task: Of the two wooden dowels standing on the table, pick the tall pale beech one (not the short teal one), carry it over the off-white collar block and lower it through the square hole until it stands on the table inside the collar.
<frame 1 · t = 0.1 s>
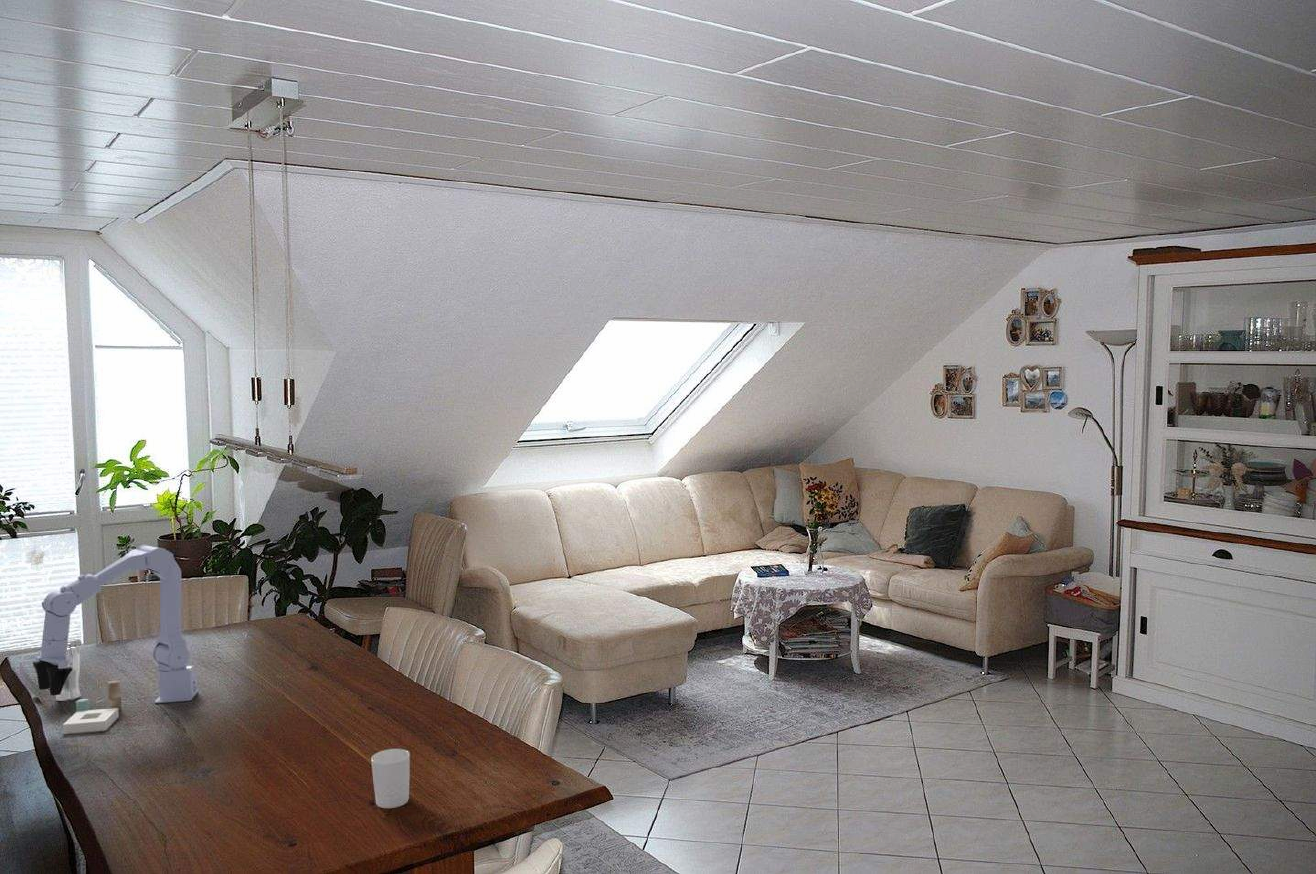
hand: (49, 692, 255), 11 cm above the table, tool pointing down, fingers open, 7 cm apart
beer glass: (68, 699, 282), on the table
white cup: (392, 802, 211), on the table
long beech pin: (115, 710, 271), on the table
collar block: (91, 725, 260), on the table
short teal pin: (83, 717, 267), on the table
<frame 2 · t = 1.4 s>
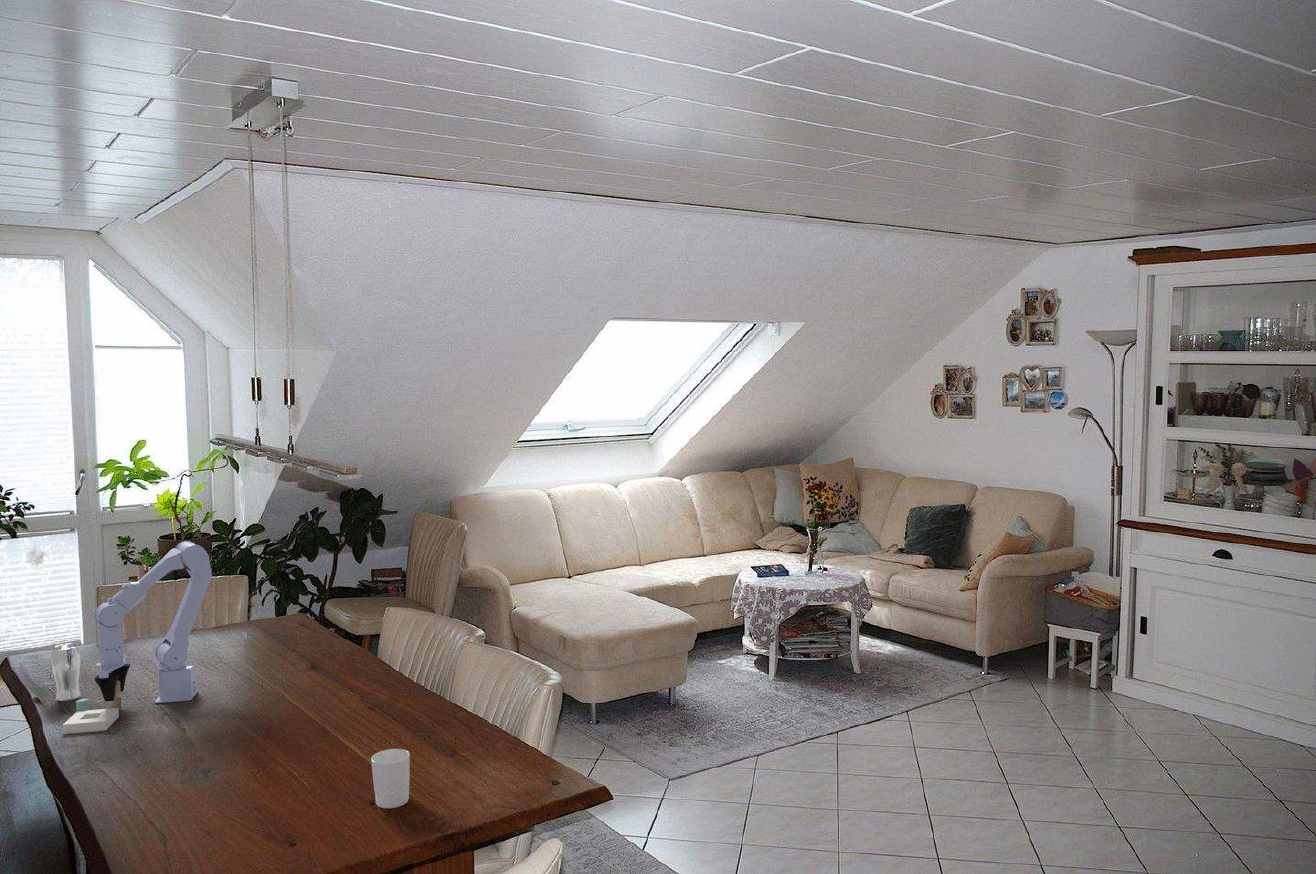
hand: (114, 696, 271), 4 cm above the table, tool pointing down, fingers open, 7 cm apart
nothing on the table moved.
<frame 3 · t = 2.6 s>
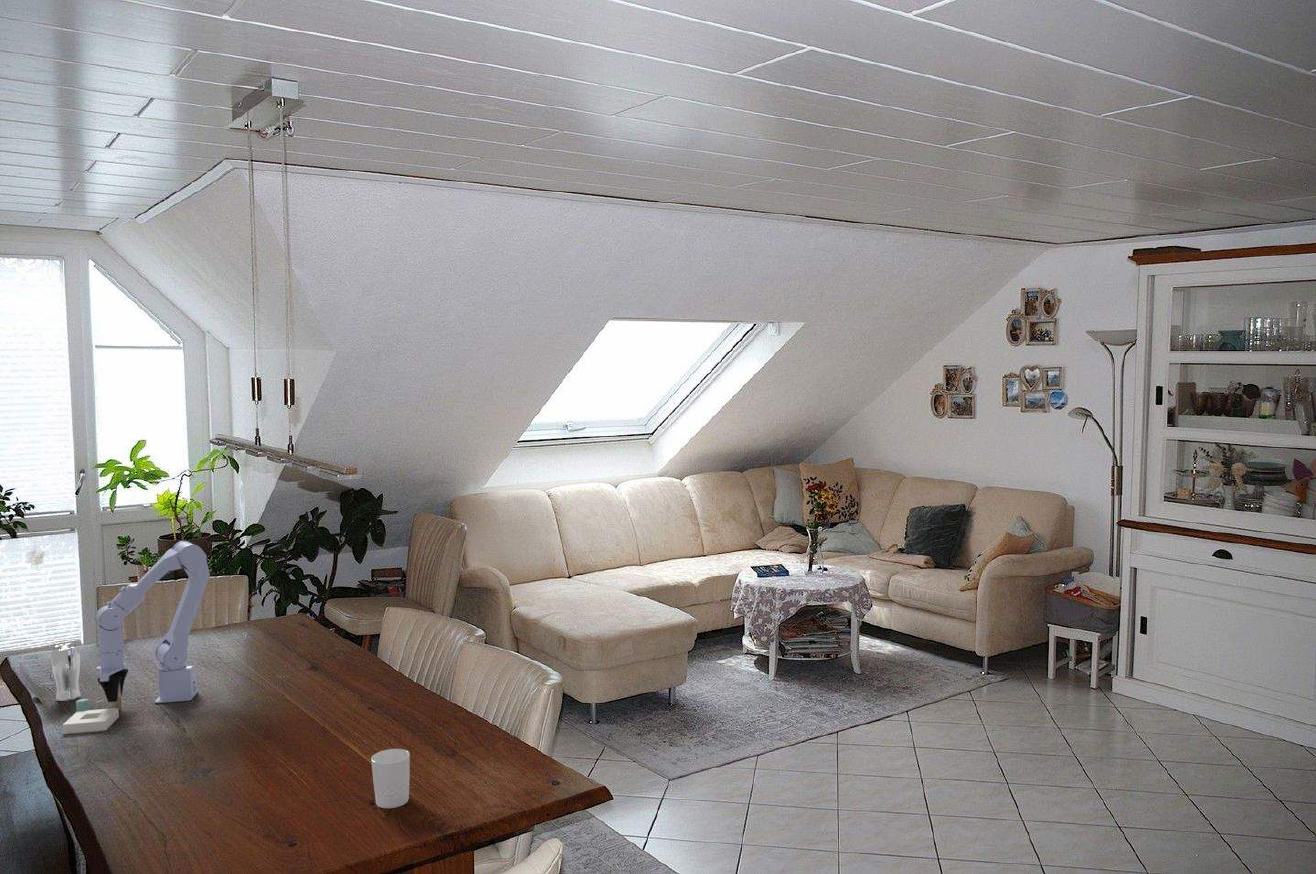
hand: (114, 699, 271), 3 cm above the table, tool pointing down, fingers closed on long beech pin, 3 cm apart
long beech pin: (115, 710, 271), on the table, touching gripper
everything else where it was.
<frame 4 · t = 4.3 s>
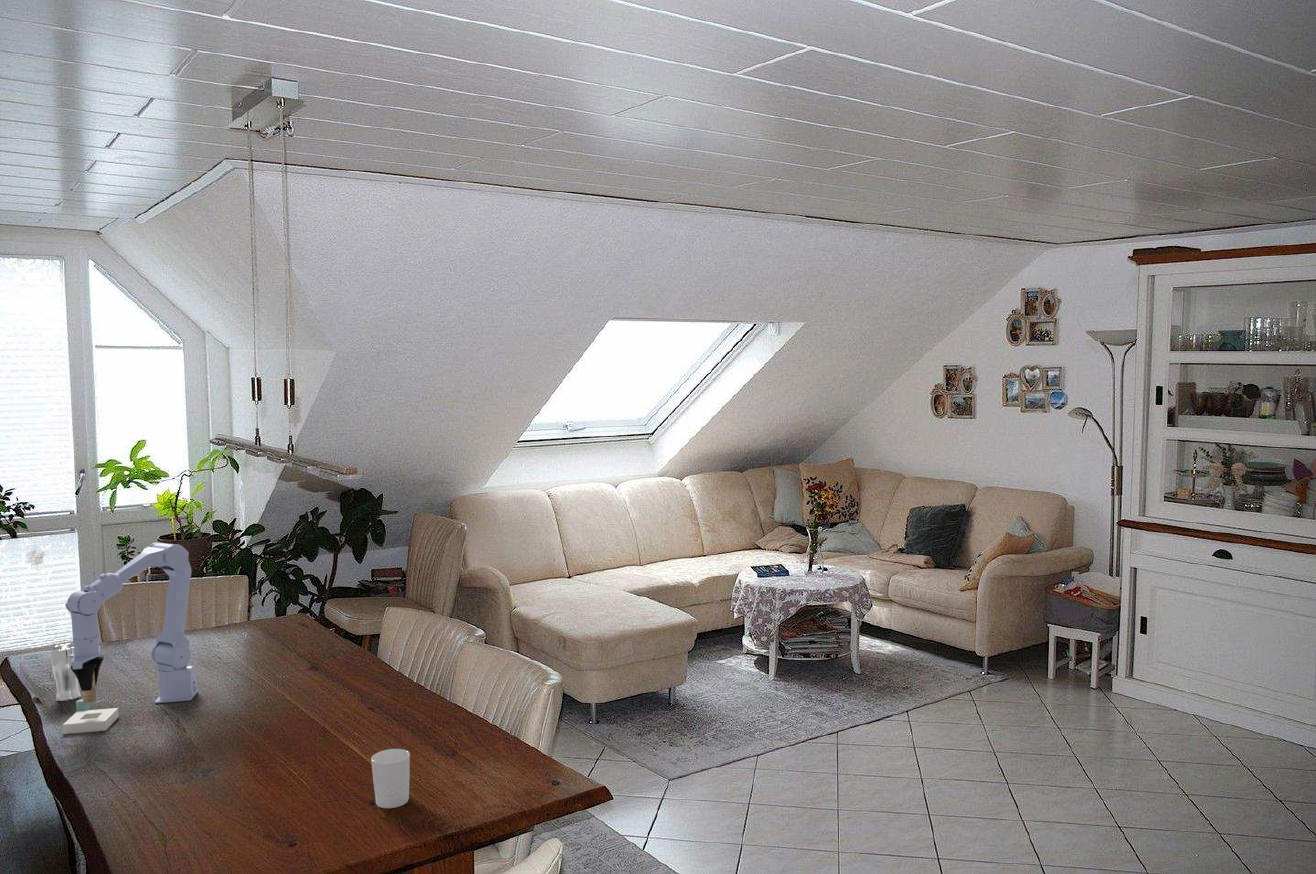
hand: (89, 688, 260), 10 cm above the table, tool pointing down, fingers closed on long beech pin, 3 cm apart
long beech pin: (89, 700, 260), point 7 cm above the table, touching gripper
everything else where it was.
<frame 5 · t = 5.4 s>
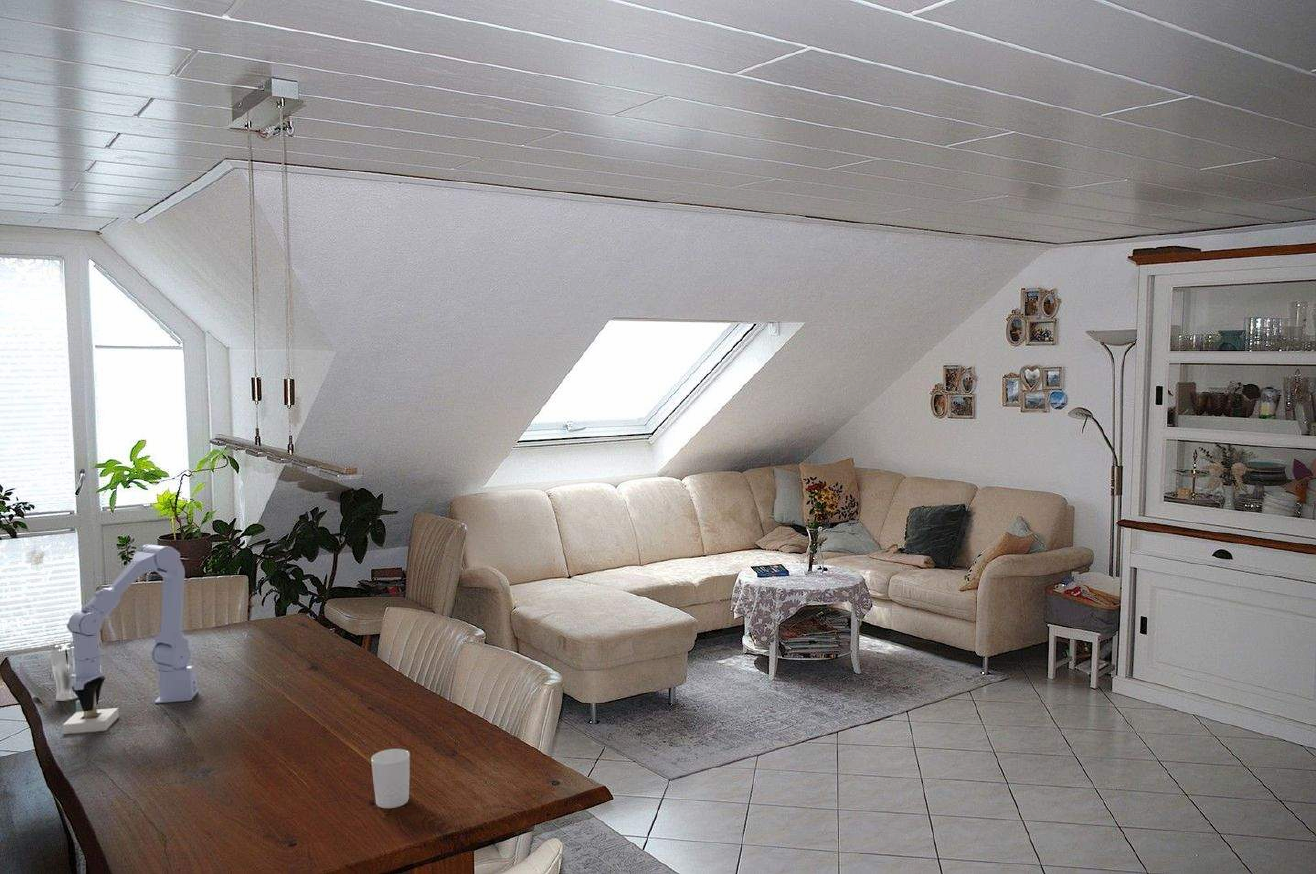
hand: (90, 708, 260), 5 cm above the table, tool pointing down, fingers closed on long beech pin, 3 cm apart
long beech pin: (90, 721, 260), point 1 cm above the table, touching gripper
everything else where it was.
when the fingers open (4 cm above the table, at t = 6.3 s): long beech pin stays where it is, resting in collar block.
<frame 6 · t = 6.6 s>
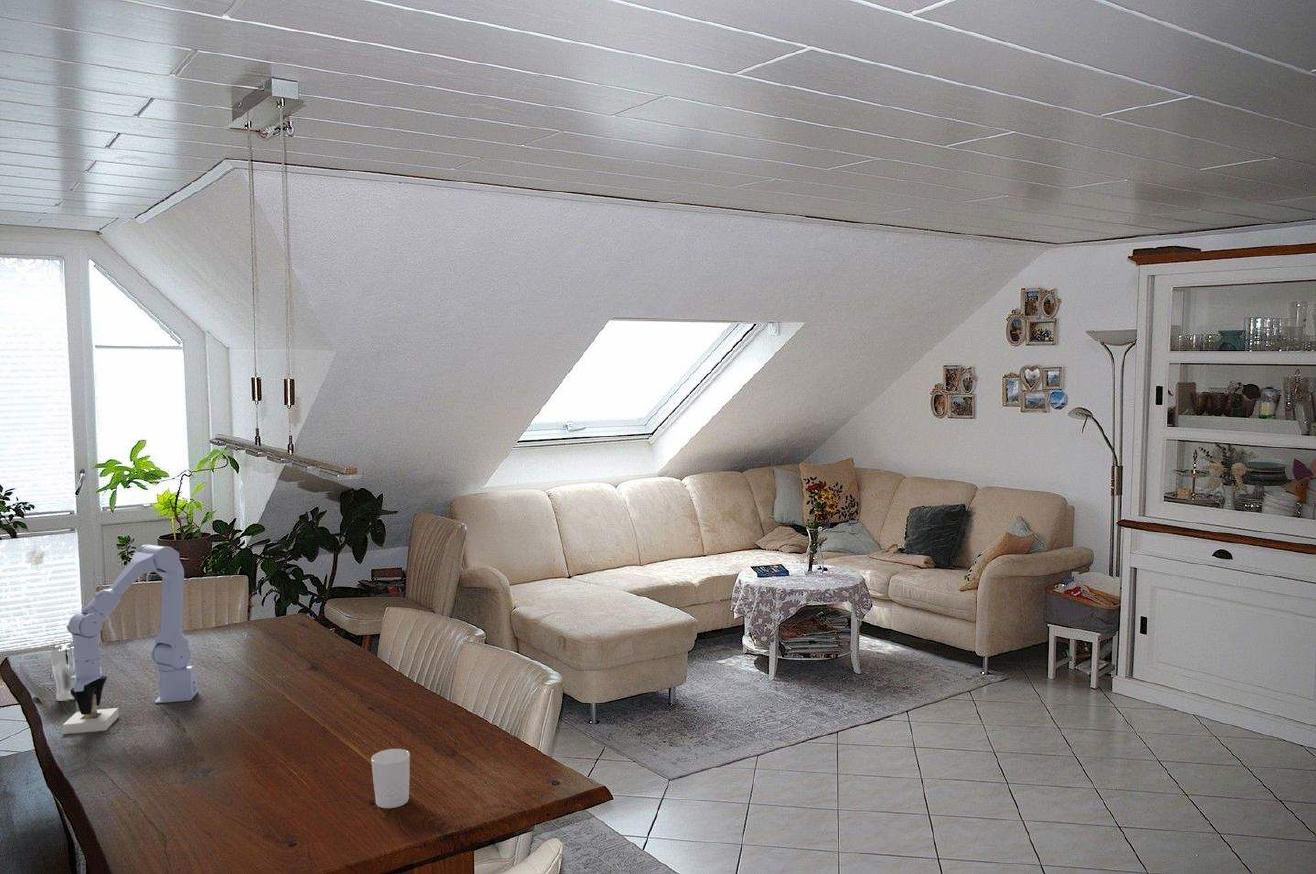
hand: (90, 709, 260), 4 cm above the table, tool pointing down, fingers open, 6 cm apart
long beech pin: (91, 725, 260), resting in collar block
everything else where it was.
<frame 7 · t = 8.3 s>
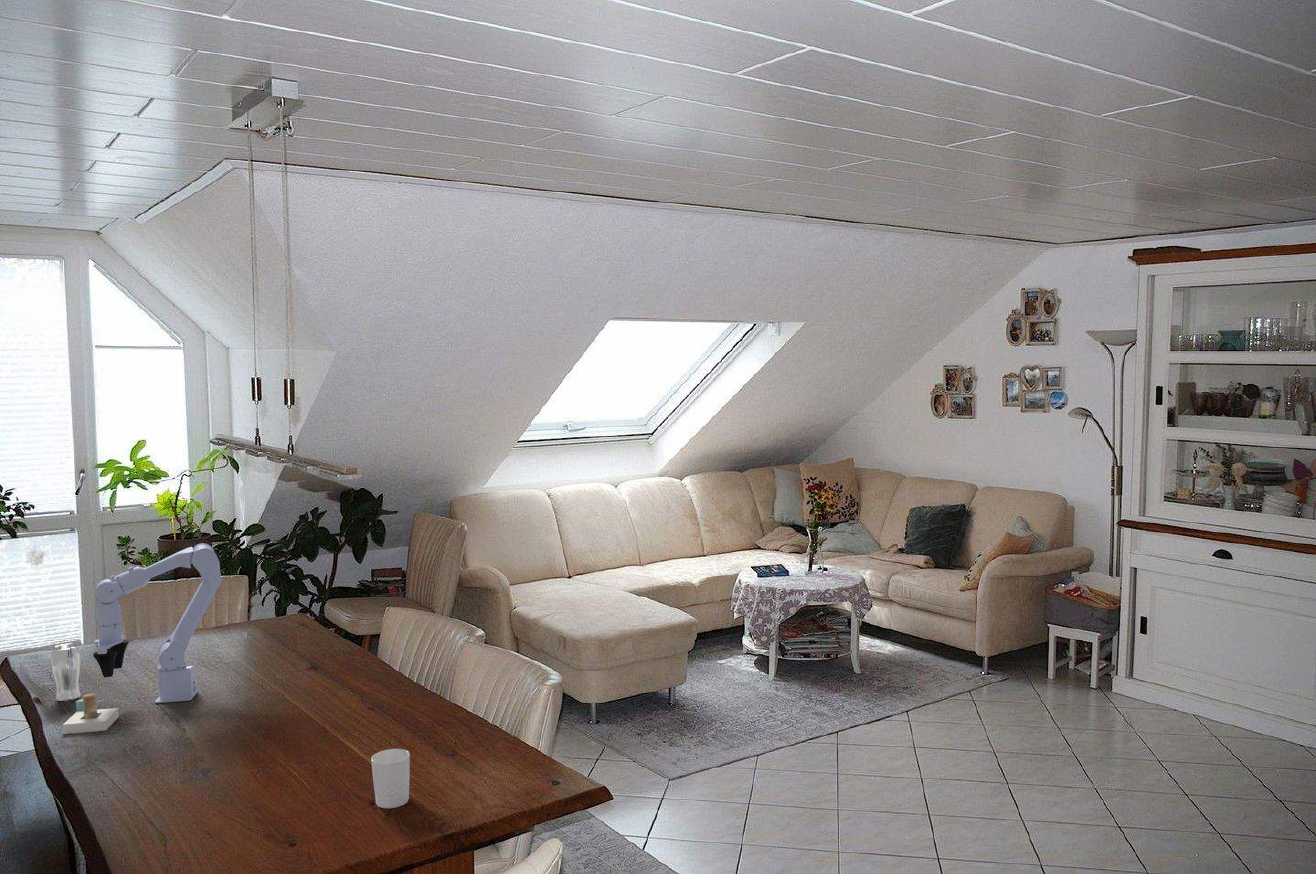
hand: (112, 672, 273), 10 cm above the table, tool pointing down, fingers open, 7 cm apart
nothing on the table moved.
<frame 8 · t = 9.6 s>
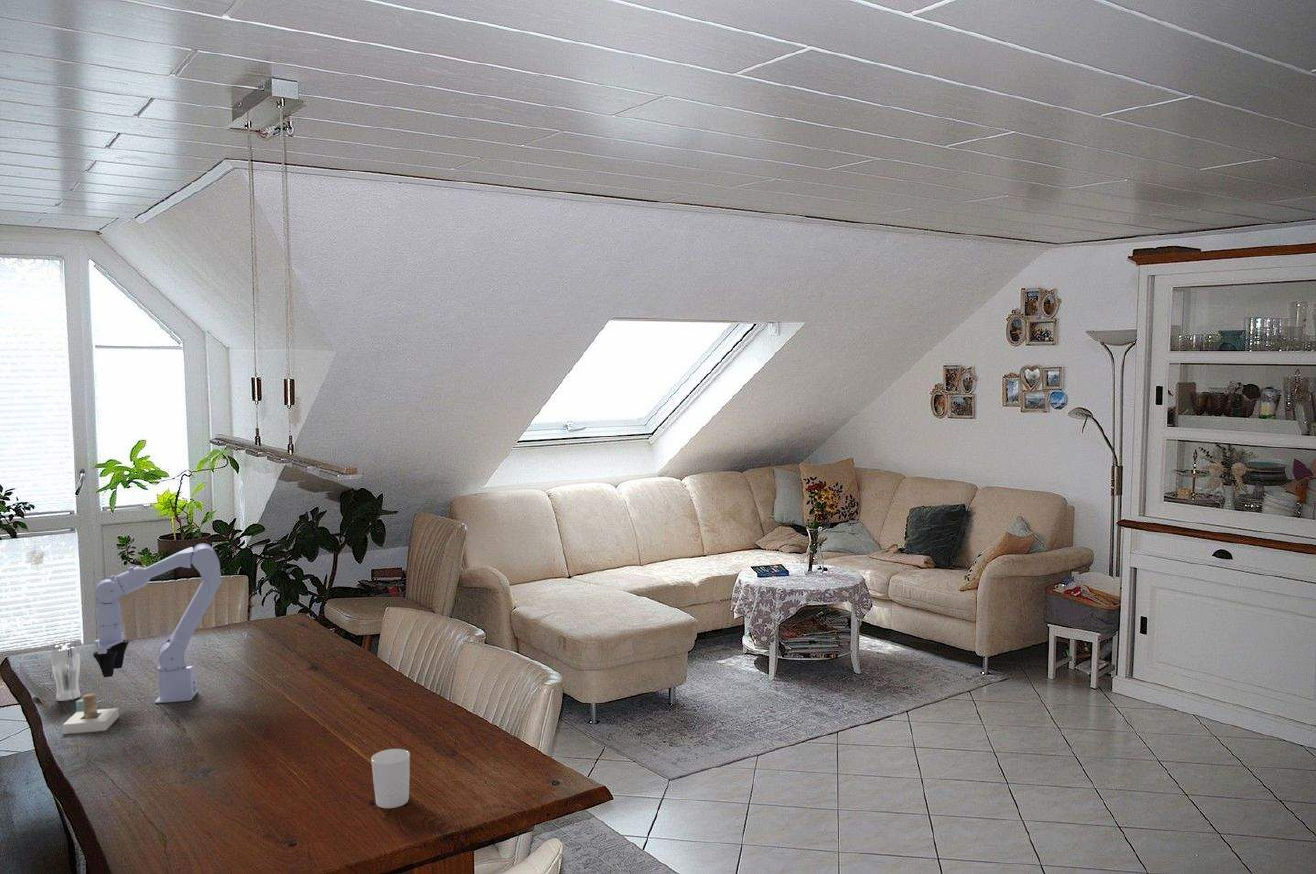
hand: (112, 672, 273), 10 cm above the table, tool pointing down, fingers open, 7 cm apart
nothing on the table moved.
at the end: long beech pin 0.1 cm off-centre on the collar block, point 0.0 cm above the collar block's base; long beech pin tilted 0°; short teal pin moved 0.0 cm from its start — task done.
